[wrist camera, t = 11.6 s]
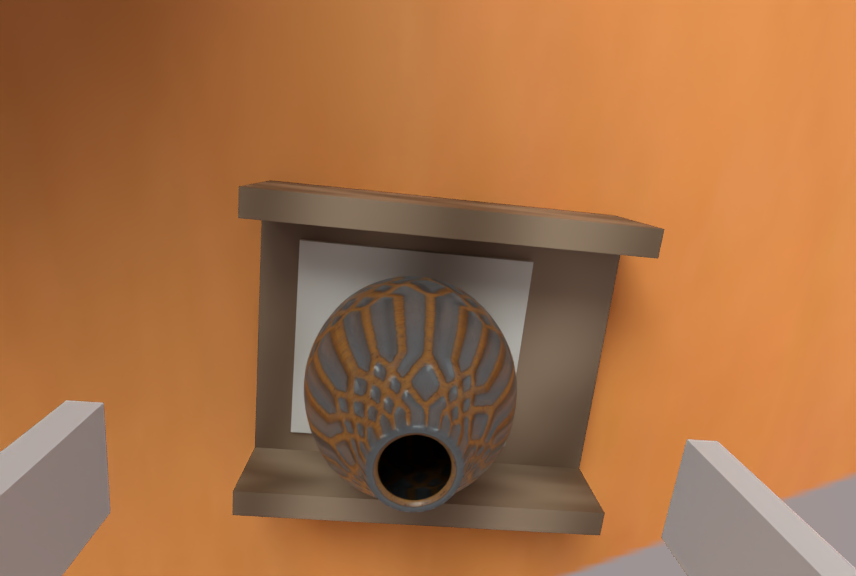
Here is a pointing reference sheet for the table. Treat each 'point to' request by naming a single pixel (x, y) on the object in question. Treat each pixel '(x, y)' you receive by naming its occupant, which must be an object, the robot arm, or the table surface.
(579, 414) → the cradle
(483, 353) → the vase
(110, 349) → the table surface
